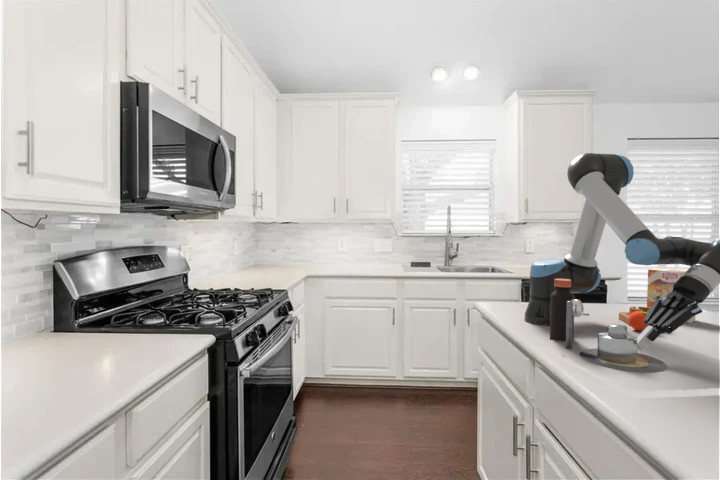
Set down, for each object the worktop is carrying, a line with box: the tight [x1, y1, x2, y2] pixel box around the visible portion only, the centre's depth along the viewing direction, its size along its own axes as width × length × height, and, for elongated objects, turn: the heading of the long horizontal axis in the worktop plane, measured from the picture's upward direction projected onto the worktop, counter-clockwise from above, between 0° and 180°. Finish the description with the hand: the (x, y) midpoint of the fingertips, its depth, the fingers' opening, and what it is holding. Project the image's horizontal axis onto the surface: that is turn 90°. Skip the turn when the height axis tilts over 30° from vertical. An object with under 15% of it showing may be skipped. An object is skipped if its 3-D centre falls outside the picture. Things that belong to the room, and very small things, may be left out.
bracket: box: [618, 305, 651, 327], centre depth 158 cm, size 18×8×7 cm, turn 168°
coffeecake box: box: [646, 267, 697, 324], centre depth 167 cm, size 15×7×20 cm, turn 43°
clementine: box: [628, 311, 648, 332], centre depth 147 cm, size 8×7×7 cm
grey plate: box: [579, 348, 669, 374], centre depth 112 cm, size 20×20×1 cm
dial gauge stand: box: [565, 298, 590, 350], centre depth 122 cm, size 5×8×16 cm, turn 96°
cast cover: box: [597, 323, 638, 365], centre depth 112 cm, size 9×9×9 cm
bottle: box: [549, 279, 575, 343], centre depth 132 cm, size 7×7×20 cm
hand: (637, 346), depth 113 cm, fingers closed
